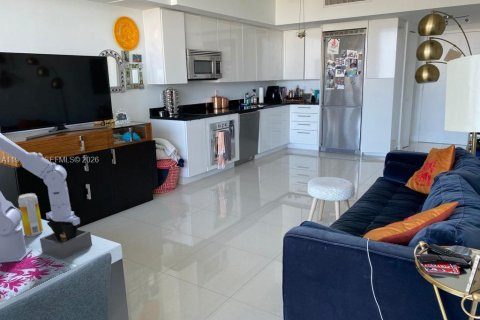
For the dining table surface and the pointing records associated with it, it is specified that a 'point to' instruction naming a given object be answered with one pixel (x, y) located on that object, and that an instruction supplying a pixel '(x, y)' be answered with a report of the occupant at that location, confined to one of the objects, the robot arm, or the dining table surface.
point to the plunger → (63, 237)
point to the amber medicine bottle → (30, 214)
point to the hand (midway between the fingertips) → (66, 241)
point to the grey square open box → (66, 244)
